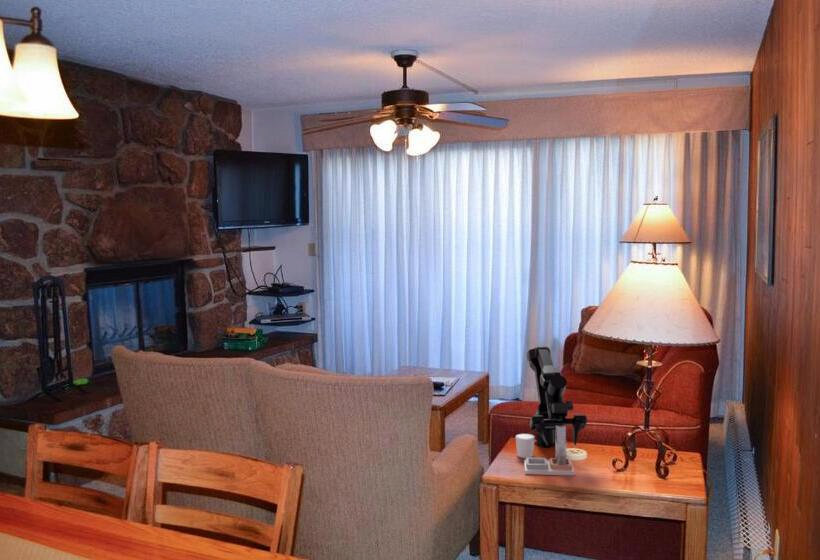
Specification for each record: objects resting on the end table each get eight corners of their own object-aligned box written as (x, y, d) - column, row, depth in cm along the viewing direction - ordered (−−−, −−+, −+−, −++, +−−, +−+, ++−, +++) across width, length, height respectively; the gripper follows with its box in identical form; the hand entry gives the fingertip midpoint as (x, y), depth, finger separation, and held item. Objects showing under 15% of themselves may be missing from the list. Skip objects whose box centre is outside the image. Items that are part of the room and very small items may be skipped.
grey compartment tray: (524, 463, 255) (524, 455, 254) (571, 464, 253) (571, 456, 253) (525, 474, 245) (525, 466, 245) (574, 475, 243) (574, 467, 243)
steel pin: (563, 463, 250) (563, 423, 249) (568, 467, 247) (568, 426, 245) (553, 464, 250) (553, 424, 248) (558, 468, 246) (558, 427, 245)
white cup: (536, 458, 259) (536, 439, 259) (516, 458, 260) (516, 439, 259) (533, 451, 266) (533, 433, 266) (514, 451, 266) (514, 433, 266)
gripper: (531, 392, 249) (537, 434, 240) (586, 391, 249) (594, 433, 240) (527, 408, 258) (532, 449, 248) (580, 407, 258) (587, 448, 248)
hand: (561, 444), depth 246 cm, fingers open, 9 cm apart
